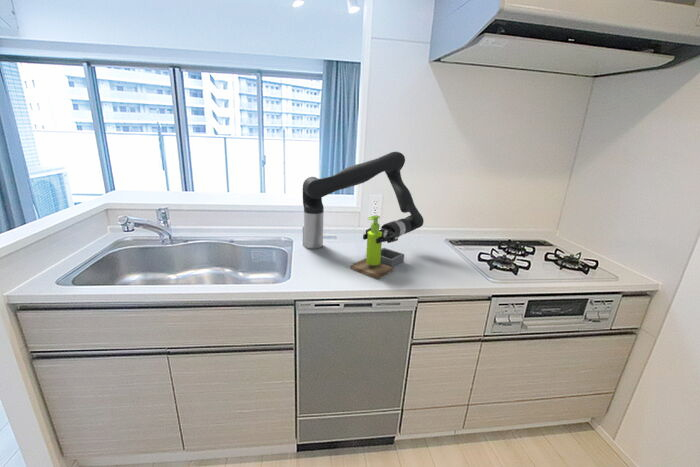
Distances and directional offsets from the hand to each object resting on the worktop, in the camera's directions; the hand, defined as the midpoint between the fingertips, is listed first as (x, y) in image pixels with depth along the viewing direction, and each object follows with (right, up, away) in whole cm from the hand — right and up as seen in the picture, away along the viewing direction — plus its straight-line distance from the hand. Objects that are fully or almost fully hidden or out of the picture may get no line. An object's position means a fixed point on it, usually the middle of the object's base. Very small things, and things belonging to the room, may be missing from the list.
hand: (370, 239), depth 126 cm
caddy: (+8, -10, +14) cm, 20 cm away
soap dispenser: (+1, -10, +5) cm, 11 cm away
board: (+1, -13, +6) cm, 14 cm away
